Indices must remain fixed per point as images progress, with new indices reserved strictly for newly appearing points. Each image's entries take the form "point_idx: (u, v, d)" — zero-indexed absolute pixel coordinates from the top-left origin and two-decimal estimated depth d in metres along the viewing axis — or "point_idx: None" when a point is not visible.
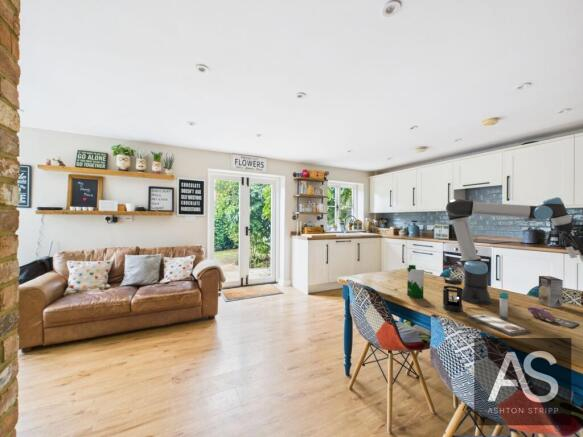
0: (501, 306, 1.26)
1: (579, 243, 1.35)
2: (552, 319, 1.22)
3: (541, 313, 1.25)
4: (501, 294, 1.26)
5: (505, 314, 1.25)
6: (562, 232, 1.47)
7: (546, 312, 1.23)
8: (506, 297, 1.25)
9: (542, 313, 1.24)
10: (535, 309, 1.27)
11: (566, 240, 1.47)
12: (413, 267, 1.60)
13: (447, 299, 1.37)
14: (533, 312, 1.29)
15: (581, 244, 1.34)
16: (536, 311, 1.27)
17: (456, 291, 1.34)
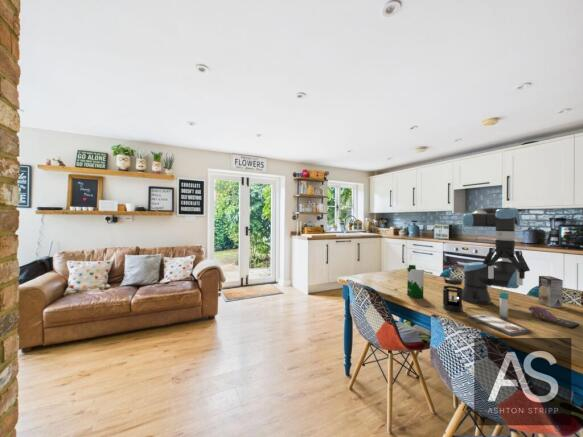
0: (501, 306, 1.26)
1: None
2: (553, 319, 1.22)
3: (542, 313, 1.25)
4: (501, 294, 1.26)
5: (505, 314, 1.25)
6: None
7: (547, 312, 1.23)
8: (506, 297, 1.25)
9: (543, 313, 1.24)
10: (536, 309, 1.28)
11: None
12: (413, 267, 1.60)
13: (447, 299, 1.37)
14: (534, 312, 1.29)
15: None
16: (537, 311, 1.28)
17: (456, 291, 1.34)
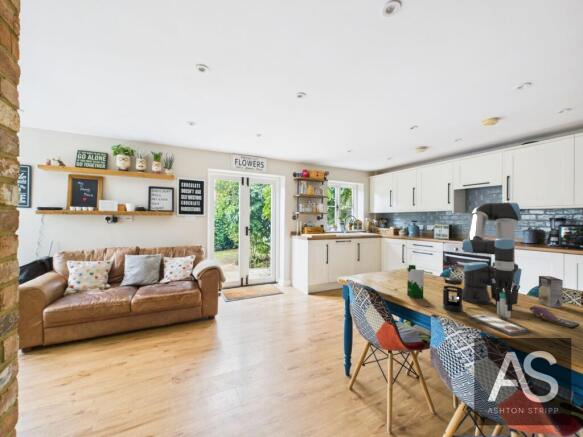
0: (501, 306, 1.26)
1: None
2: (554, 319, 1.23)
3: (543, 312, 1.25)
4: (501, 294, 1.26)
5: None
6: None
7: (548, 312, 1.23)
8: None
9: (544, 313, 1.24)
10: (537, 309, 1.28)
11: None
12: (413, 267, 1.60)
13: (447, 299, 1.37)
14: (535, 312, 1.29)
15: None
16: (538, 311, 1.28)
17: (456, 291, 1.34)
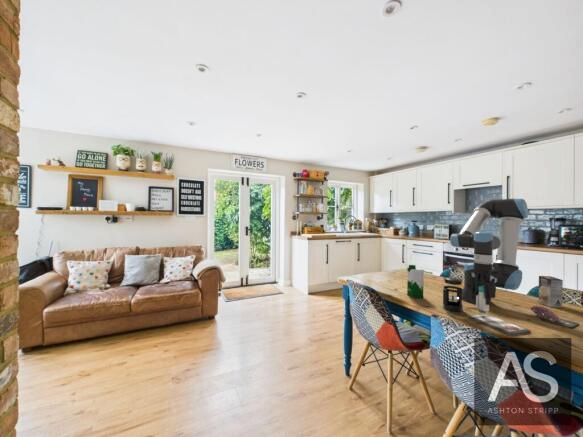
0: (480, 300, 1.25)
1: None
2: (556, 319, 1.23)
3: (544, 312, 1.25)
4: (480, 288, 1.25)
5: None
6: None
7: (550, 312, 1.23)
8: None
9: (546, 313, 1.24)
10: (538, 309, 1.28)
11: None
12: (413, 267, 1.60)
13: (447, 299, 1.37)
14: (536, 312, 1.29)
15: None
16: (539, 311, 1.28)
17: (456, 291, 1.34)
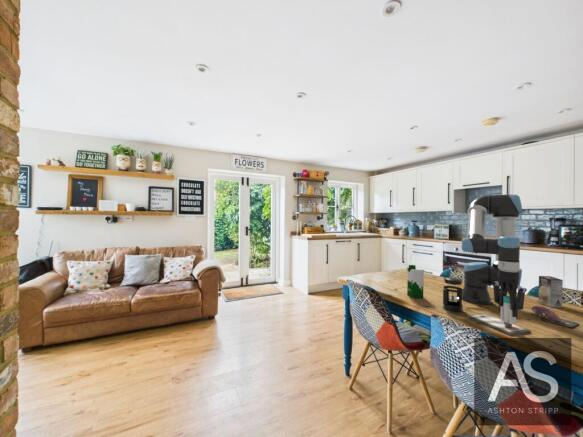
0: (505, 311, 1.14)
1: None
2: (556, 318, 1.23)
3: (545, 312, 1.25)
4: (505, 298, 1.14)
5: None
6: None
7: (550, 312, 1.24)
8: None
9: (546, 313, 1.25)
10: (539, 309, 1.28)
11: None
12: (413, 267, 1.60)
13: (447, 299, 1.37)
14: (537, 312, 1.29)
15: None
16: (540, 311, 1.28)
17: (456, 291, 1.34)
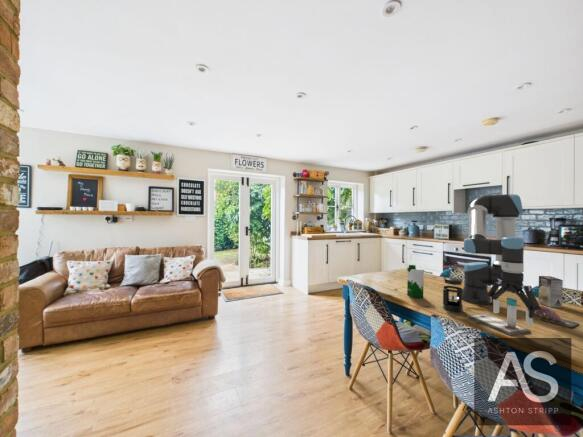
0: (509, 314, 1.12)
1: None
2: (557, 318, 1.23)
3: (546, 312, 1.25)
4: (509, 300, 1.12)
5: (513, 323, 1.11)
6: None
7: (551, 312, 1.24)
8: (514, 304, 1.11)
9: (547, 313, 1.25)
10: None
11: None
12: (413, 267, 1.60)
13: (447, 299, 1.37)
14: (538, 312, 1.30)
15: None
16: (541, 311, 1.28)
17: (456, 291, 1.34)
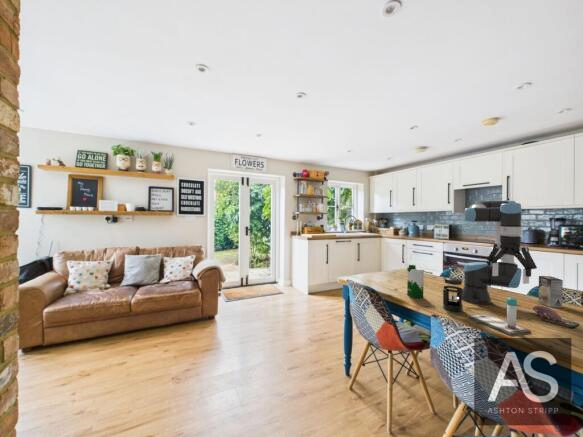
0: (509, 314, 1.12)
1: None
2: (558, 318, 1.23)
3: (547, 312, 1.25)
4: (509, 300, 1.12)
5: (513, 323, 1.11)
6: None
7: (552, 311, 1.24)
8: (514, 304, 1.11)
9: (548, 312, 1.25)
10: (541, 309, 1.28)
11: None
12: (413, 267, 1.60)
13: (447, 299, 1.37)
14: (539, 311, 1.30)
15: None
16: (542, 310, 1.28)
17: (456, 291, 1.34)
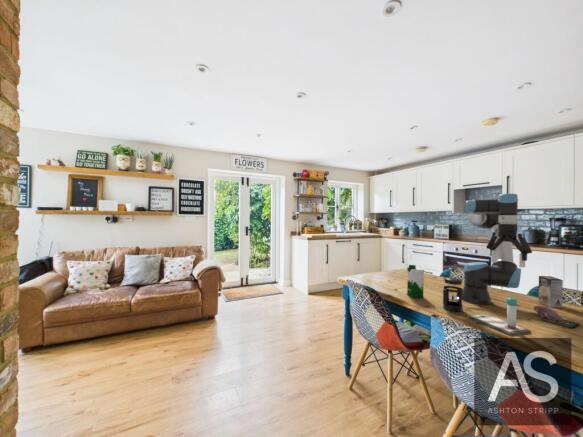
0: (509, 314, 1.12)
1: None
2: (559, 318, 1.23)
3: (548, 312, 1.25)
4: (509, 300, 1.12)
5: (513, 323, 1.11)
6: None
7: (553, 311, 1.24)
8: (514, 304, 1.11)
9: (549, 312, 1.25)
10: (541, 308, 1.28)
11: None
12: (413, 267, 1.60)
13: (447, 299, 1.37)
14: (539, 311, 1.30)
15: None
16: (542, 310, 1.28)
17: (456, 291, 1.34)
